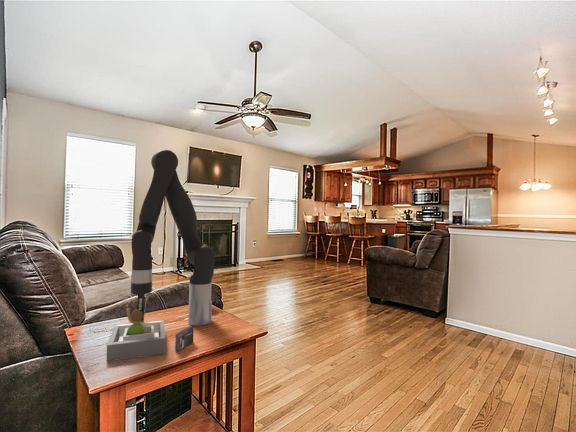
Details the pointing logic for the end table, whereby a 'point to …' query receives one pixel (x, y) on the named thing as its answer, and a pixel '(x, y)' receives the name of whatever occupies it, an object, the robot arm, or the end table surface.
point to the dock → (135, 345)
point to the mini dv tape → (184, 339)
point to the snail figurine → (135, 322)
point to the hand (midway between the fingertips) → (140, 324)
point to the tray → (149, 332)
